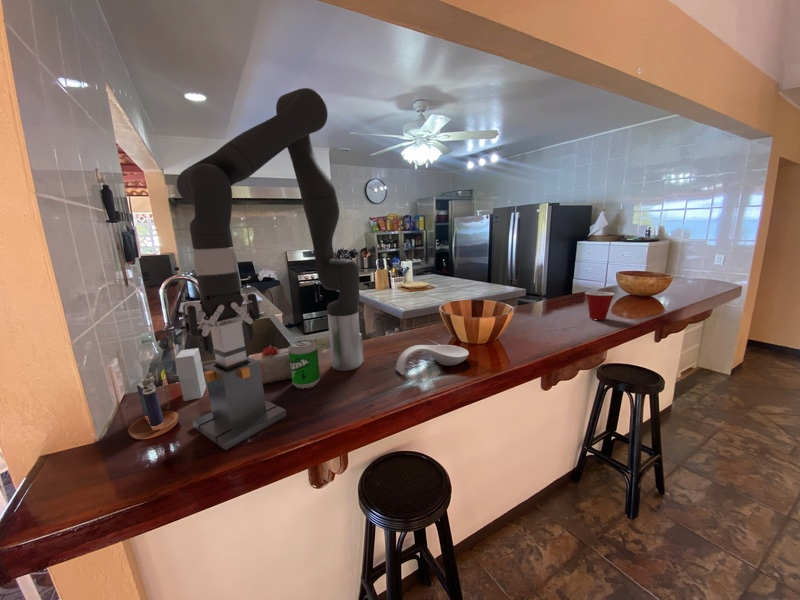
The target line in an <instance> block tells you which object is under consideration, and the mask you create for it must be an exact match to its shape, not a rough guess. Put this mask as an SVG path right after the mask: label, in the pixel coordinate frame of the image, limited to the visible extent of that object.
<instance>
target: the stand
mask: <svg viewBox="0 0 800 600" xmlns="http://www.w3.org/2000/svg"><path fill="white" fill-rule="evenodd" d="M246 357H247V359H248V363H247V364H245V365H242V366H240V367H237V368H234V369H232V370H229V371H226V372H225V371H223V370H221V369H218V368H217V367H216V365H215V362H214V363H211V364H208V365H205V366H203V373H204V379H205V383H206V388H207V393H208V397H209V404H210V407H211V408H210V409H211V412H209V413H207V414H204V415H202V416H200V417H198V418H195V419H194V420H192V425H193V428H194V429H195V430H197V431H198V432H200V433H201V434H202V435H203V436H204V437H207V438H208V439H209V440H211V441H212V442H214V444H217V445H218V446H219V447H220V448H222V449H223V450H225V451H227V450H229V449H230V448H233V447H235V446H236V445H237V444H240V443H241V442H243V441H245V440H246V439H248V438H250V437H252V436H254V435H256V434H257V433H259V432H261V431H262V430H264V429H266V428H268V427H270V426H272V425H273V424H275V423H277V422H278V420H279V421H281V420H282V419H284V418H286V417H287V409H285V408H283V407H281V406H279V405H277V404H275V403H272V402H271V401H268V399H267V400H266V399H265V398H266V397H265V391H264V384H263V383H262V375H261V368H260V361H257V360H254V359H252V358H249V356H246ZM276 421H277V422H276ZM269 425H270V426H269Z"/></svg>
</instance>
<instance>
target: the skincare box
mask: <svg viewBox="0 0 800 600" xmlns="http://www.w3.org/2000/svg"><path fill="white" fill-rule="evenodd" d="M201 359H202V358H201V353H200V349H199V347H197V348H196V347H195V348H189V349H181V350H180V351H179V353H178V354H177V356H175V358H174V360H175V366H176V370H177V375H178V376H177V377H178V380H179V384H180V390H181V395H182V399H183V401H184V402H187V401H192V400H196V399H201V398H203V395H204V393H205V391H206V389H207V383H206V381H205V379H204V367H203V363H202V360H201Z"/></svg>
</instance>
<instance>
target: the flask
mask: <svg viewBox="0 0 800 600" xmlns="http://www.w3.org/2000/svg"><path fill="white" fill-rule="evenodd" d="M151 380H153V378H152V377H150V378H146V379H141V380H140V381H139V382H138V383H137V384H136V389H137V392H138V396H139V400H140V403H141V409H142V413H143V417H145V416H148V418H149V422H150V425H149V427H150V426H157V425H159V424H161V423H162V422H163V419H164V417H163V416H164V415H163V411H162V409H161V408H162V407H161V404H160V399H159V395H158V394H159V393H158V389H157V387H156V385H155V384H154V383H153V382H151Z"/></svg>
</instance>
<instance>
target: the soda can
mask: <svg viewBox="0 0 800 600" xmlns="http://www.w3.org/2000/svg"><path fill="white" fill-rule="evenodd" d="M287 348H288V351H289V359H290V368H291V376H292V379H291V383H292V385H293V386H294V387H296V388H297V389H300V388H301V389H302V390H305V389H304V388H307V389H311V388H313V387H315V386H317V384H318V382H319V381H320V380H321V374H320V364H319V363H320V362H319V352H318V345H317V343H315V342H314V341H313V340H312V339H300V340H296V341H293V342H292V343H291V344H290V345H289V346H288V347H287ZM314 385H315V386H314ZM310 387H311V388H310ZM301 389H300V390H301Z"/></svg>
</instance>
